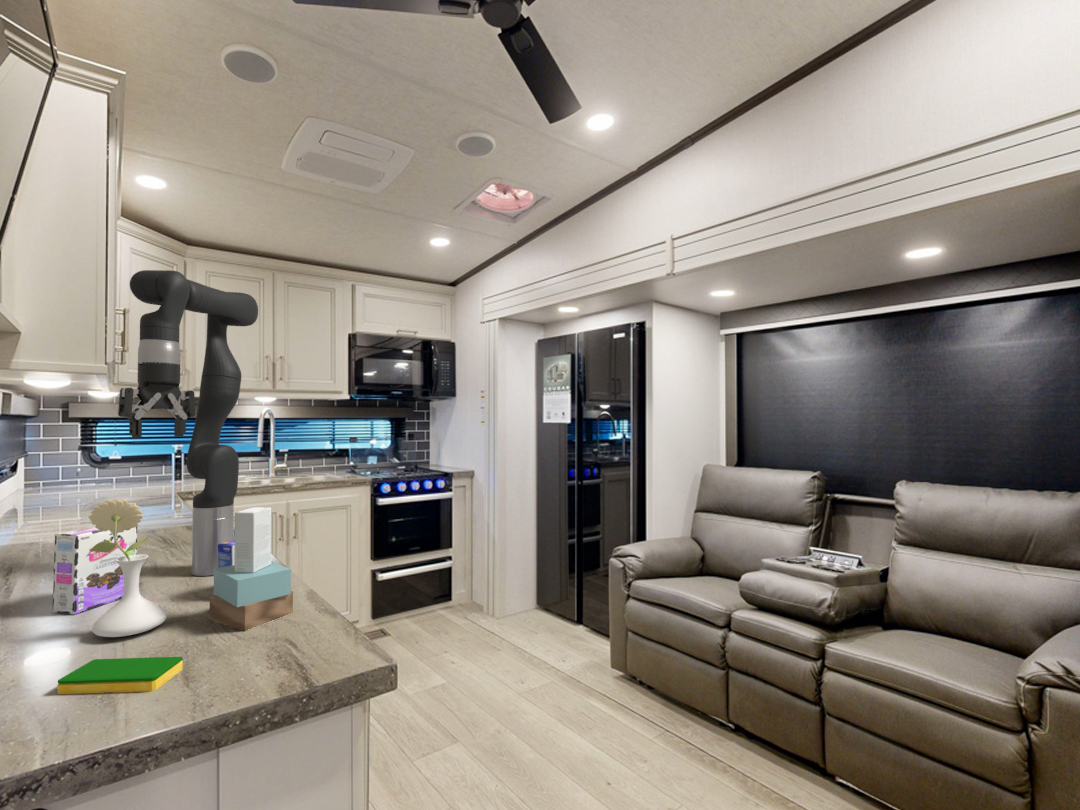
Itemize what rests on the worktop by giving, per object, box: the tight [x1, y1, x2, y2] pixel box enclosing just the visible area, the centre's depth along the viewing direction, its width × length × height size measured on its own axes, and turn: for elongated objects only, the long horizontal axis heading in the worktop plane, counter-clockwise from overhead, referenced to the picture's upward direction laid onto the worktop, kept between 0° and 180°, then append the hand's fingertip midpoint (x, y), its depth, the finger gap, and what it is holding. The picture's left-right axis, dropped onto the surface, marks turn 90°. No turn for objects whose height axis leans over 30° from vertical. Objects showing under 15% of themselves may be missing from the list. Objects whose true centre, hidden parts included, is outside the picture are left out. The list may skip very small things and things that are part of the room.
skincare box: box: [234, 506, 272, 573], centre depth 108 cm, size 6×4×12 cm
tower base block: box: [209, 590, 294, 632], centre depth 108 cm, size 10×12×5 cm
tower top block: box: [213, 560, 292, 607], centre depth 108 cm, size 10×12×5 cm
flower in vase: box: [88, 498, 168, 638], centre depth 101 cm, size 13×11×25 cm
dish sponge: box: [57, 656, 184, 695], centre depth 81 cm, size 7×14×2 cm, turn 93°
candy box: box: [52, 526, 138, 615], centre depth 116 cm, size 14×6×16 cm, turn 168°
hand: (158, 437), depth 115 cm, fingers open, 8 cm apart
